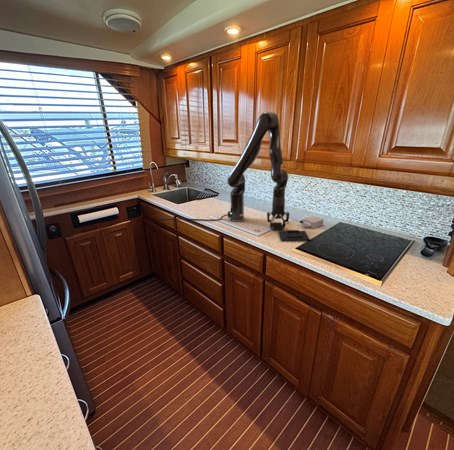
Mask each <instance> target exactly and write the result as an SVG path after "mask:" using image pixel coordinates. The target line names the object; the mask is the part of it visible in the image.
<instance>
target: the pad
mask: <svg viewBox="0 0 454 450" xmlns="http://www.w3.org/2000/svg"><path fill="white" fill-rule="evenodd" d="M272 223H273V226H272V230H273V232H279V231H283V227H282V226H283V222H280V221H279V222H274V221H273V222H272Z"/></svg>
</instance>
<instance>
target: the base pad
mask: <svg viewBox="0 0 454 450" xmlns="http://www.w3.org/2000/svg"><path fill="white" fill-rule="evenodd" d="M278 236H279V238H280V241H281V242H310V241H311V239H310V237H309V235H308V234H307V232H306V231H305V230H300V229H299V230H298V229H294V230H293V229H287V230H282V231H278Z"/></svg>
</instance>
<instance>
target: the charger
mask: <svg viewBox="0 0 454 450" xmlns="http://www.w3.org/2000/svg"><path fill="white" fill-rule="evenodd" d="M323 225H324V218H323V217H319V216H316V215H310V216H307V217H305V218H303V221H302V223H301V226H303V227H305V228H311V229H316V228H318V227H321V226H323Z"/></svg>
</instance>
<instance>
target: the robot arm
mask: <svg viewBox="0 0 454 450" xmlns="http://www.w3.org/2000/svg"><path fill="white" fill-rule="evenodd" d="M267 132H268V135H269V148H268V149H269V150H268V153H269V161H270V164H271V166H270V178H271V180H272V182H273V183H275V184H276V185H274V187H273V189H272V200H271V201H272V205H271V211H270V212H269V211H268V212H266V218H267V219H266V220H267V223H269V227H270V229H273V222H274V221H275V220H282V229H285V227H286V223H288V222H289V220H290V212H289V211H287V212H286V211H285V206H286V187H287V185H288V181H289V174H288V171H287V170H285V169H281V167H282V166H283V165H284V159H283V152H282V148H281V137H280V118H279V115H278V114H276V113H275V112H272V111H264V112H262V113H261V114H260V115H259V117H258V119H257V121H256V124H255V127H254V129H253V131H252V134H251V135H250V137H249V139H248V141H247V143H246V145H245V147H244V149H243V150H242V152H241V154H240V156H239V158H238V160H237V162H236V164H235V166H234V168H233V169H232V170H231V172H230V173H229V174H228V176H227V184H228V186H229V187H230V188H232V189H231V191H230V193H229V197H230V211H229V210H228V211H227V213H226V214H224V215H222V216H221V217H220V218H217V219H213V218H212V219H209V218H208V219H207V218H206V219H203V218H185V217H184V218H183V217H182V218H178V217H177V218H175V217H174V218H160V219H158V221H160V222H161V221H172V220H176V221H177V220H185V221H186V220H187V221H188V220H189V221H206V222H207V221H210V222H211V221H213V222H215V221H221V220H222V219H223V218H224V217H227V219H230V221H231V222H243V221H244V220H245V204H244V203H245V201H244V200H245V192H246V176H245V175H244V174H245V172H246V171H247V170H248V169H249V168H250V167H251V166H252V165H253V164H254V162H256V159H257V158H258V156H259V154H260V152H261V148H262V142H263V140H264V137H265V136H266V134H267ZM284 216H285V218H284Z"/></svg>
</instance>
